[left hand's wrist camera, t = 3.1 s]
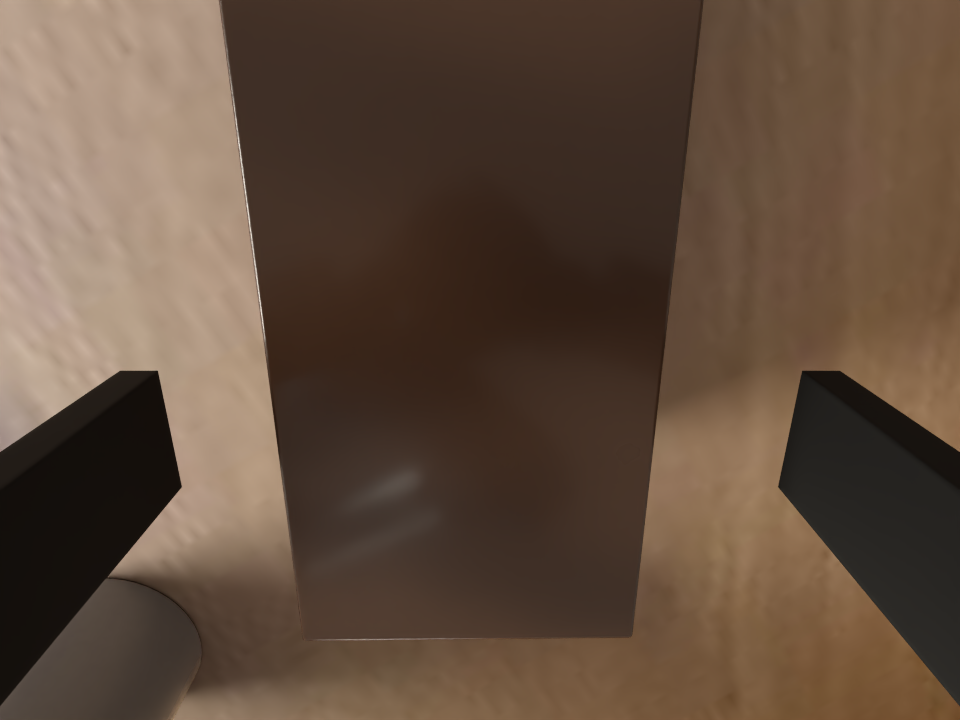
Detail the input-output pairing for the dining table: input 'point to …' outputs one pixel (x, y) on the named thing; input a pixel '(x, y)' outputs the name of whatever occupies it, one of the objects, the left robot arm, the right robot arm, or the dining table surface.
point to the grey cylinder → (113, 661)
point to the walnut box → (463, 299)
